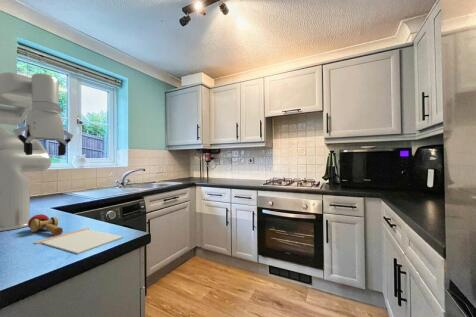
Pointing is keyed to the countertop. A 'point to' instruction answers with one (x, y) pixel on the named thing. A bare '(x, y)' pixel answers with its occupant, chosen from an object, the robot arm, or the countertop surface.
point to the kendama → (45, 224)
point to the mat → (82, 241)
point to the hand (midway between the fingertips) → (46, 155)
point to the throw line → (59, 236)
